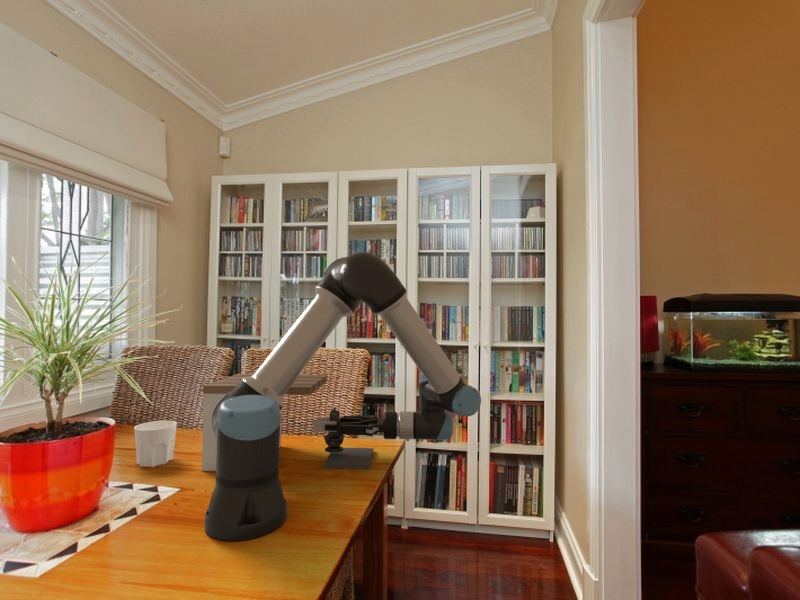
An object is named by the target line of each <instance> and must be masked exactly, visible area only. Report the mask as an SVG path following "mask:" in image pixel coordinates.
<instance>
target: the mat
mask: <svg viewBox="0 0 800 600" xmlns="http://www.w3.org/2000/svg"><path fill="white" fill-rule="evenodd" d="M373 451H374V447H343V451H341V452H336V453H330V452H329V455H328V457H327V458H326V460H325V462H324V464H323V469H339V468H343V469H345V470H346V469H347V470H349V469H352V470H370V467H371V463H372V458H373V456H374V455H373V454H374V452H375V451H374V452H373ZM372 455H373V456H372ZM343 469H342V470H343Z"/></svg>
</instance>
